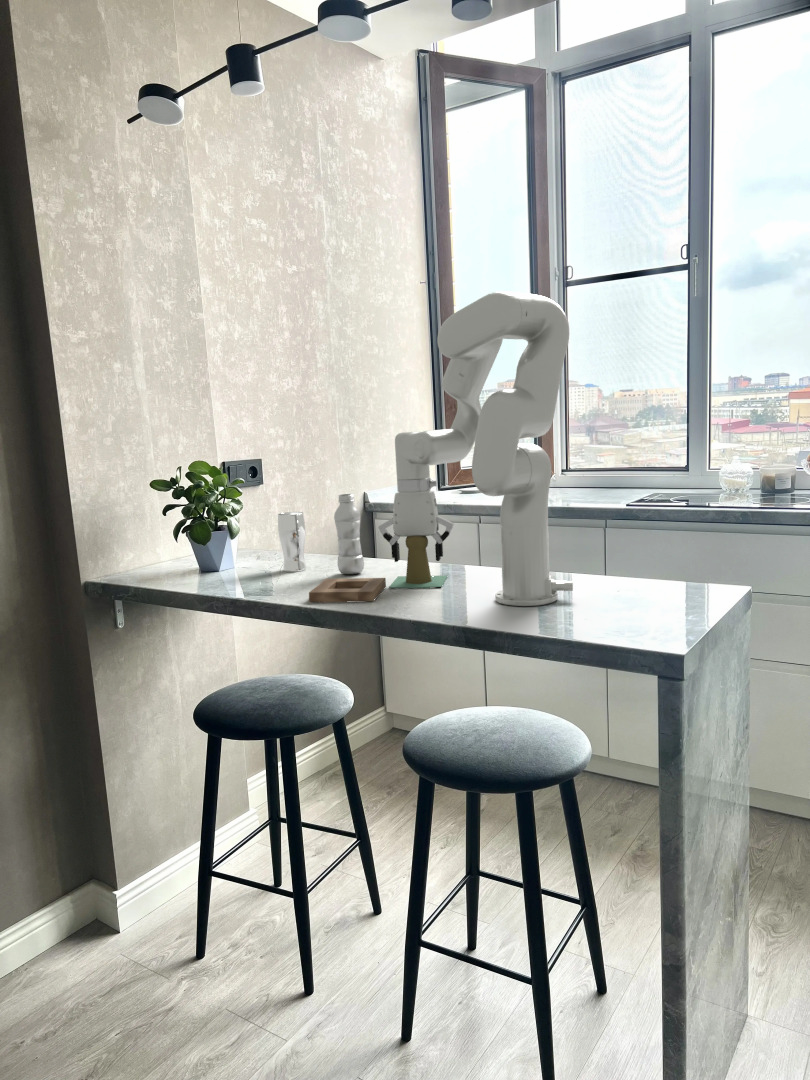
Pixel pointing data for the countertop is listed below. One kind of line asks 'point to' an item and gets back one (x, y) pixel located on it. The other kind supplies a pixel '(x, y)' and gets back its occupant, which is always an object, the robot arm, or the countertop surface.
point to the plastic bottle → (348, 536)
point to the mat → (401, 583)
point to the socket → (347, 590)
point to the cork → (417, 560)
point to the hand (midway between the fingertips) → (417, 560)
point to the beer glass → (292, 540)
